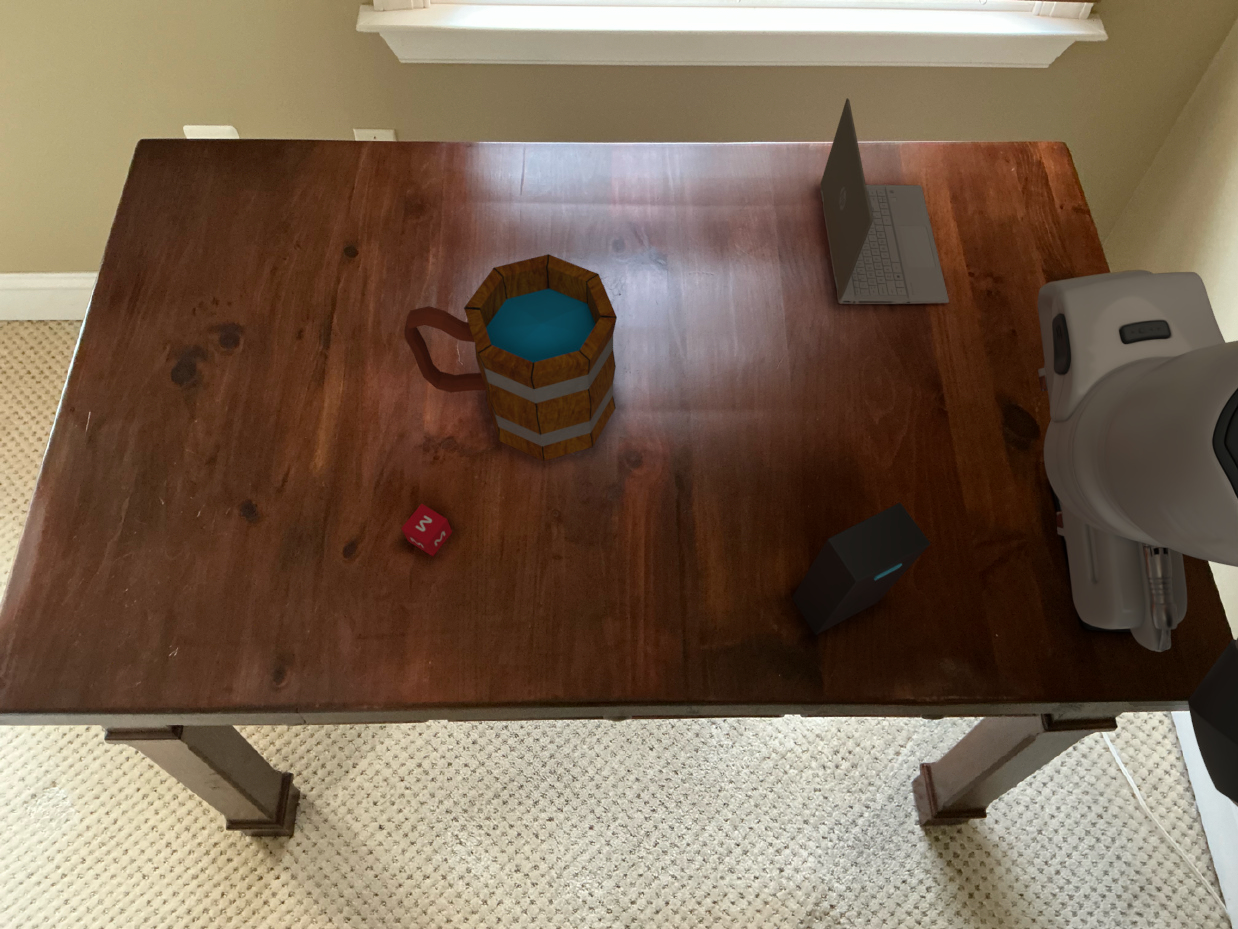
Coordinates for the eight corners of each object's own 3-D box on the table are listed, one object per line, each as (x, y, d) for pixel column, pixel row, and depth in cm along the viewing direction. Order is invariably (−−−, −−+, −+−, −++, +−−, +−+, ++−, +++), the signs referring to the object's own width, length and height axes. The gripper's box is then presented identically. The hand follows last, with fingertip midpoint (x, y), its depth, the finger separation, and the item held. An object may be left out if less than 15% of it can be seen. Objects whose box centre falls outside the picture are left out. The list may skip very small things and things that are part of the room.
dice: (433, 556, 78) (426, 544, 75) (407, 541, 78) (400, 528, 76) (452, 532, 79) (447, 519, 76) (427, 516, 80) (421, 503, 77)
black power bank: (879, 603, 76) (932, 545, 64) (816, 637, 75) (857, 584, 62) (852, 564, 78) (899, 500, 66) (790, 596, 76) (825, 537, 64)
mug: (619, 354, 89) (622, 258, 76) (610, 465, 83) (611, 381, 69) (438, 343, 89) (409, 245, 76) (415, 452, 83) (379, 366, 70)
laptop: (947, 306, 93) (996, 221, 81) (836, 305, 93) (869, 220, 81) (919, 189, 101) (960, 97, 90) (817, 188, 101) (845, 96, 89)
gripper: (1246, 656, 40) (1132, 603, 54) (1196, 238, 40) (1094, 290, 54) (1104, 665, 41) (1028, 611, 55) (1055, 260, 41) (991, 305, 55)
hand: (1060, 450), depth 54 cm, fingers open, 8 cm apart
